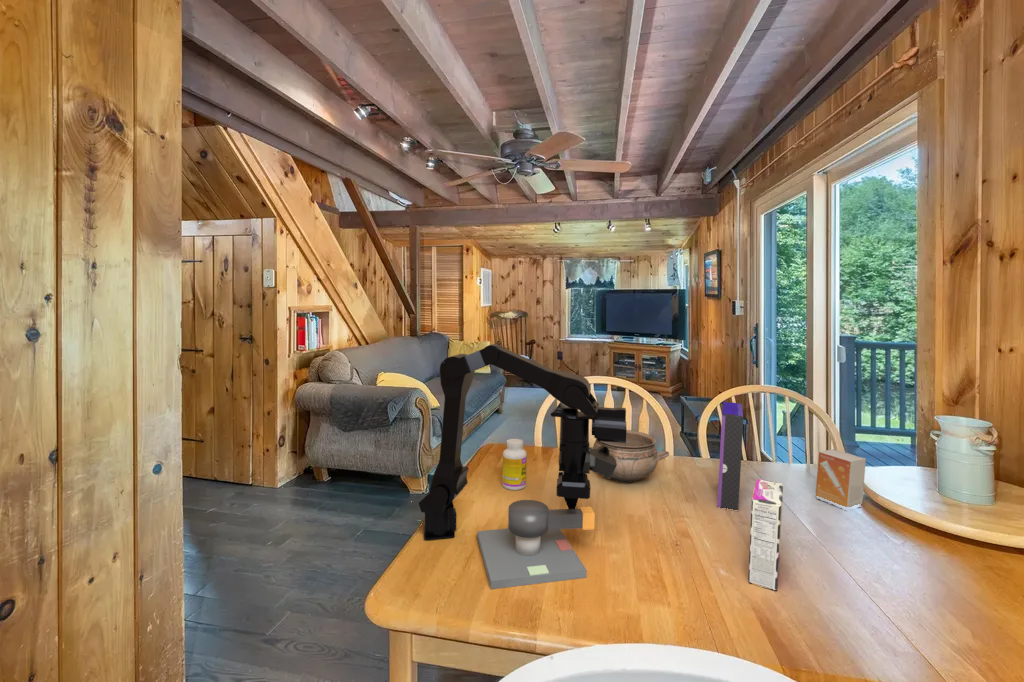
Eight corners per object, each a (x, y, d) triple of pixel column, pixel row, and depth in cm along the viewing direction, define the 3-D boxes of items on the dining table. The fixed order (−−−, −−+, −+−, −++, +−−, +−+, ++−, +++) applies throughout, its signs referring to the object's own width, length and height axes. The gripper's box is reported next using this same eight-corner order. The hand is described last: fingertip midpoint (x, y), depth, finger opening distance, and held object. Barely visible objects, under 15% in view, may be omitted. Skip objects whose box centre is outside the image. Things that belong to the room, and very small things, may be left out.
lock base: (491, 589, 80) (491, 558, 80) (477, 537, 98) (477, 512, 97) (586, 577, 84) (587, 548, 84) (556, 530, 102) (557, 505, 101)
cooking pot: (663, 470, 140) (665, 431, 139) (672, 495, 121) (674, 451, 120) (582, 463, 145) (583, 426, 144) (578, 486, 126) (579, 443, 125)
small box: (814, 499, 120) (818, 451, 119) (830, 495, 123) (833, 448, 122) (847, 511, 113) (851, 461, 112) (862, 507, 116) (866, 458, 114)
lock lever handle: (510, 539, 86) (510, 518, 86) (506, 519, 94) (506, 500, 94) (598, 535, 88) (598, 515, 88) (586, 516, 96) (587, 497, 96)
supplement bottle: (523, 492, 122) (524, 445, 121) (500, 489, 124) (500, 443, 123) (527, 482, 129) (528, 438, 128) (505, 480, 130) (505, 436, 129)
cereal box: (718, 483, 130) (723, 401, 128) (737, 486, 128) (741, 403, 126) (717, 507, 114) (721, 414, 113) (738, 511, 112) (743, 416, 110)
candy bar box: (750, 555, 93) (755, 477, 91) (779, 563, 90) (784, 483, 89) (745, 583, 83) (751, 497, 82) (777, 593, 80) (783, 504, 79)
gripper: (619, 457, 81) (616, 539, 83) (610, 426, 100) (608, 494, 101) (557, 453, 83) (555, 534, 84) (559, 424, 101) (558, 490, 103)
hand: (572, 511), depth 93 cm, fingers closed
